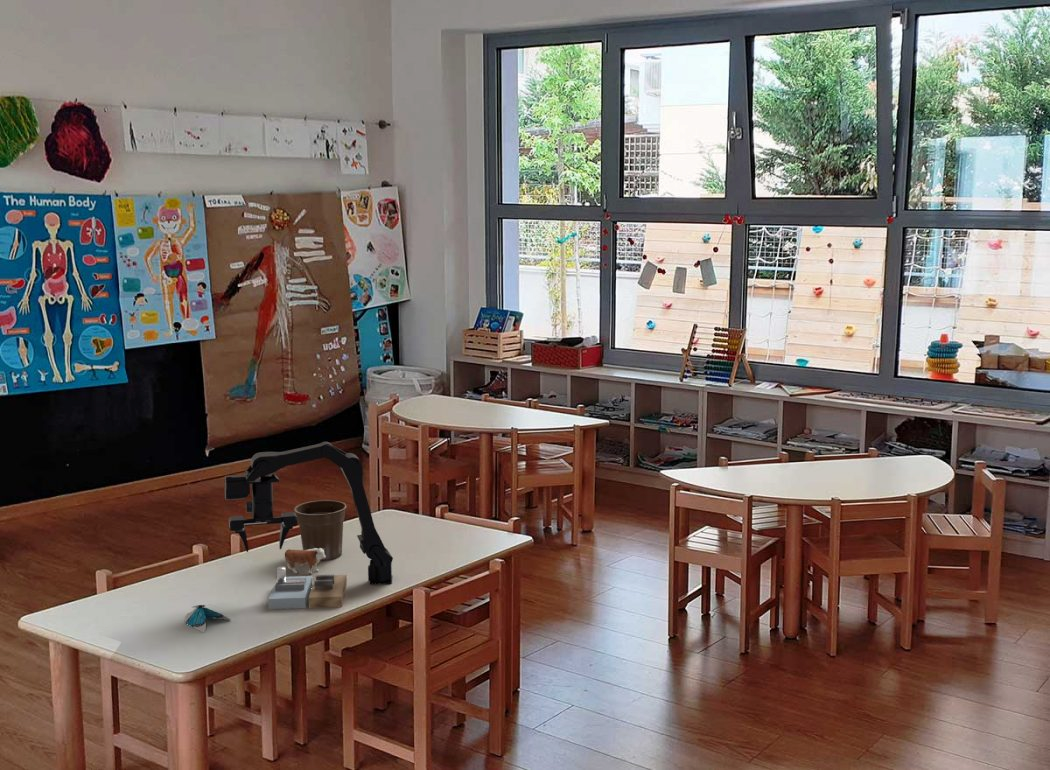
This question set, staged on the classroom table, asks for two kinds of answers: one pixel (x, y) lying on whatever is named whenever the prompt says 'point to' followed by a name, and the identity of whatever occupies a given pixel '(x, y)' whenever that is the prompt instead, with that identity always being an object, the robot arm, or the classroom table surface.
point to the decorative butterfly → (202, 617)
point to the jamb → (328, 591)
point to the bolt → (282, 577)
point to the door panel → (290, 594)
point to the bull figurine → (304, 558)
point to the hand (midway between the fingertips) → (263, 550)
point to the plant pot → (322, 526)
